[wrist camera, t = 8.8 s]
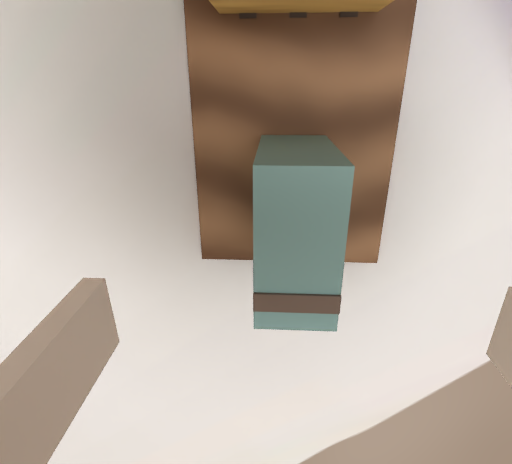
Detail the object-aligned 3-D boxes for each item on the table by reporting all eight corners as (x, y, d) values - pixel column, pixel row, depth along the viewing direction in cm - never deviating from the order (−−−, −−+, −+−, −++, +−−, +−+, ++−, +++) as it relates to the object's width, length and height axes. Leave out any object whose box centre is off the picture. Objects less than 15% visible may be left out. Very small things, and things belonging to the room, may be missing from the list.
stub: (261, 135, 27) (252, 166, 17) (325, 135, 27) (355, 167, 17) (261, 249, 31) (253, 330, 21) (317, 250, 31) (337, 333, 21)
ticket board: (180, -96, 23) (114, -221, 14) (426, -104, 22) (537, -243, 13) (204, 252, 33) (175, 320, 24) (373, 256, 33) (413, 328, 23)
